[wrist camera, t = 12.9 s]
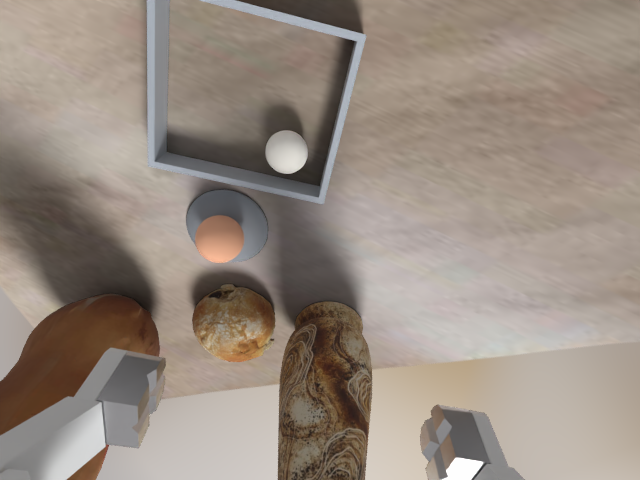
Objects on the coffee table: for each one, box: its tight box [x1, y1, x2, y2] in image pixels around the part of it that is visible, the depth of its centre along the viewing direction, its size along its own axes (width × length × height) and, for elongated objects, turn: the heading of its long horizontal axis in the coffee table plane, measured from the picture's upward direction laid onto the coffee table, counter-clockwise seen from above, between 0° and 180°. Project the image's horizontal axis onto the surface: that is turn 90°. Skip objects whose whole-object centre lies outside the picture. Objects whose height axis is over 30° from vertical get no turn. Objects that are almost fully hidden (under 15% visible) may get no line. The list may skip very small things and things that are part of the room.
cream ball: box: [265, 130, 308, 174], centre depth 35 cm, size 4×4×4 cm
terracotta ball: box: [195, 215, 244, 263], centre depth 39 cm, size 5×5×5 cm
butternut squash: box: [0, 294, 160, 480], centre depth 37 cm, size 14×13×25 cm
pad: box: [186, 189, 268, 262], centre depth 41 cm, size 9×9×1 cm
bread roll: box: [192, 284, 275, 362], centre depth 46 cm, size 10×10×8 cm
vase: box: [278, 301, 372, 480], centre depth 36 cm, size 10×11×30 cm
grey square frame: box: [147, 0, 366, 204], centre depth 33 cm, size 17×15×3 cm
